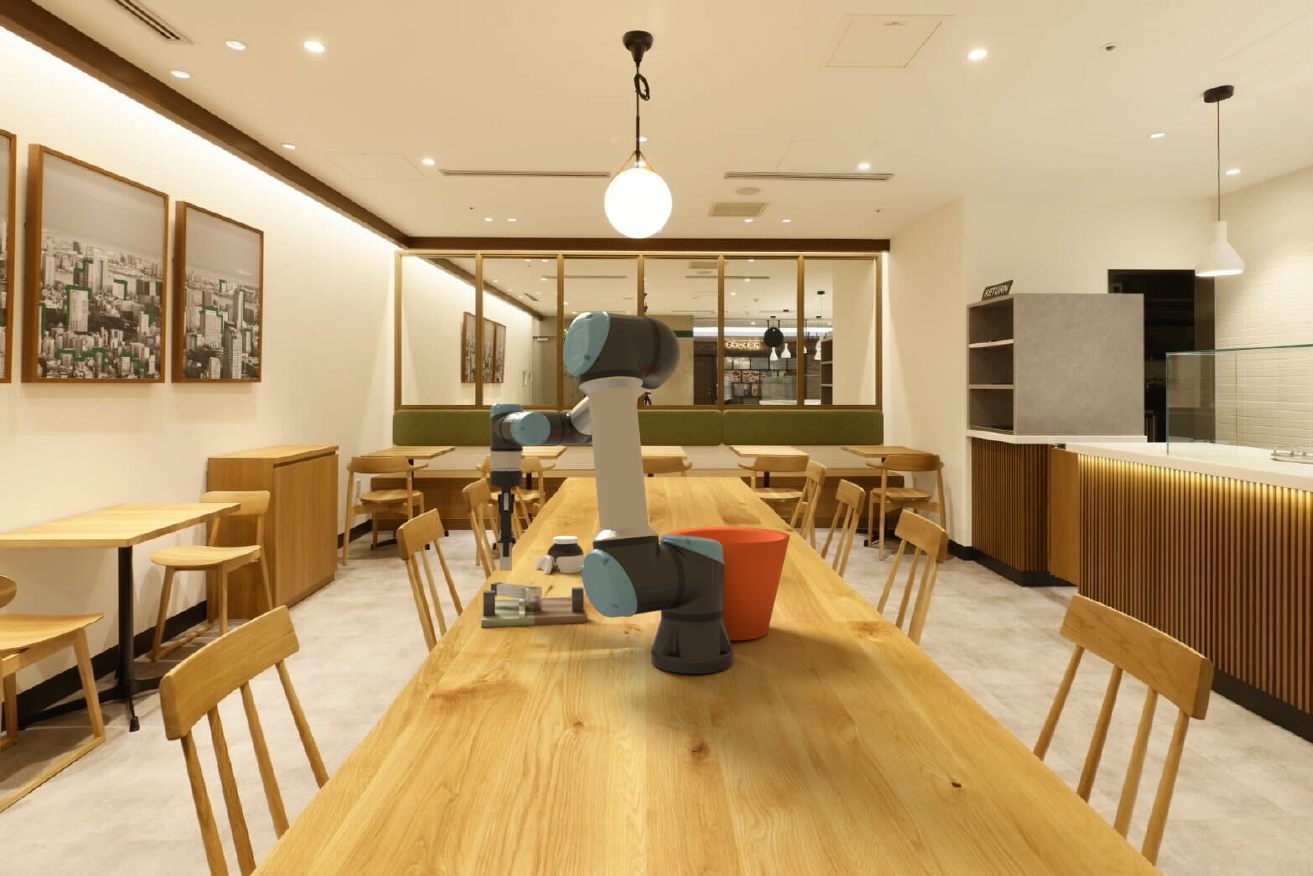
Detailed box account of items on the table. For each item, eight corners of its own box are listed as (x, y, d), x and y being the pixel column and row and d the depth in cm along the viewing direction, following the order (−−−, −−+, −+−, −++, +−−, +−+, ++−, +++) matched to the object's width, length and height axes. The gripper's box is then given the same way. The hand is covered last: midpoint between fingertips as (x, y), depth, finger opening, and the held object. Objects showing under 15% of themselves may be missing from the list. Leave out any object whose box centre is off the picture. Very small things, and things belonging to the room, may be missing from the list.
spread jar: (588, 578, 209) (588, 537, 209) (562, 585, 200) (562, 542, 200) (555, 574, 216) (555, 534, 216) (528, 580, 206) (528, 538, 206)
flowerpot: (702, 610, 171) (702, 524, 171) (807, 624, 158) (807, 531, 158) (645, 635, 150) (645, 537, 150) (761, 654, 137) (761, 546, 137)
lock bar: (545, 608, 165) (545, 587, 165) (535, 611, 162) (535, 590, 162) (499, 602, 171) (499, 581, 171) (489, 605, 168) (489, 584, 168)
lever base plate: (586, 622, 160) (586, 592, 160) (481, 627, 156) (481, 596, 156) (578, 603, 179) (578, 575, 178) (484, 606, 174) (484, 579, 174)
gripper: (523, 471, 169) (522, 575, 169) (522, 468, 181) (521, 564, 182) (489, 471, 167) (488, 576, 167) (490, 468, 180) (490, 565, 180)
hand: (505, 570), depth 175 cm, fingers closed
